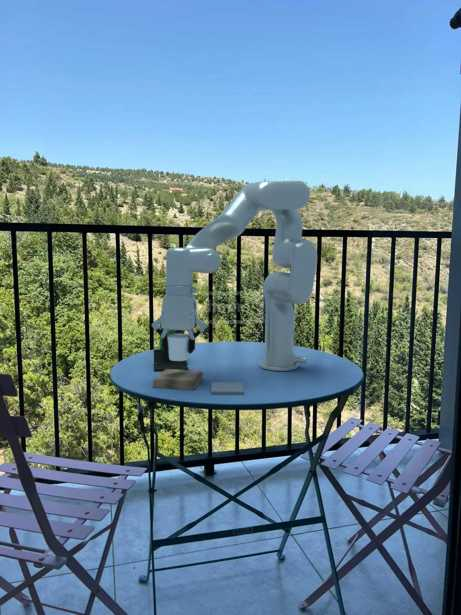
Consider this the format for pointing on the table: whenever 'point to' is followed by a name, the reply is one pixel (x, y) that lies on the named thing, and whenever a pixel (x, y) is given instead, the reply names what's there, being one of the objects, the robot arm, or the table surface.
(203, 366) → the table surface
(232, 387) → the slate coaster
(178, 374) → the stand
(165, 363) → the handheld gaming console
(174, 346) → the white cup
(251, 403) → the table surface
